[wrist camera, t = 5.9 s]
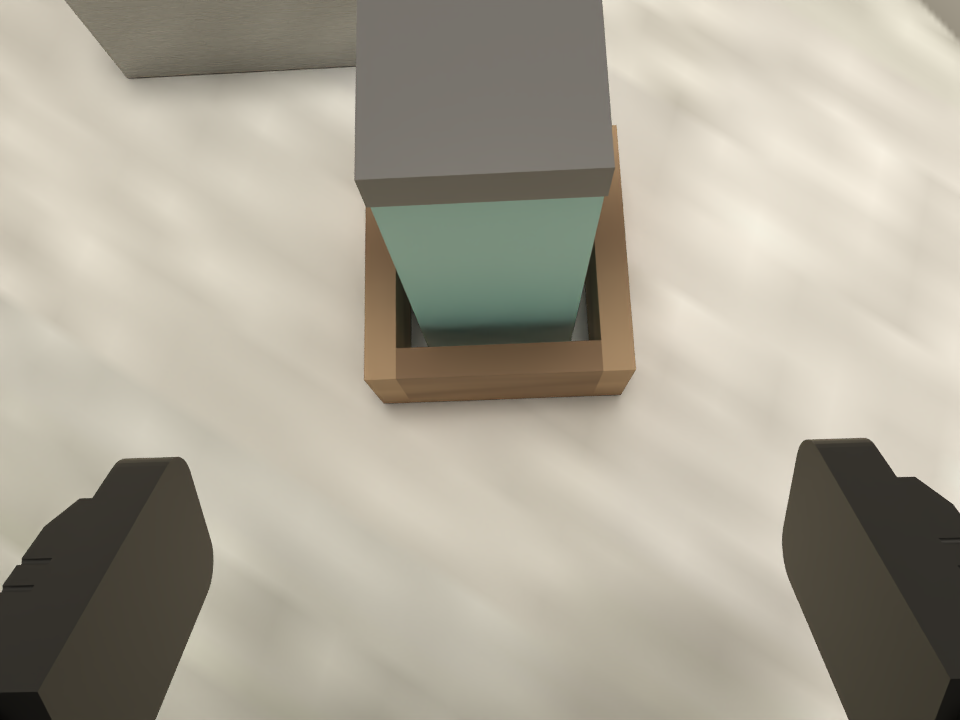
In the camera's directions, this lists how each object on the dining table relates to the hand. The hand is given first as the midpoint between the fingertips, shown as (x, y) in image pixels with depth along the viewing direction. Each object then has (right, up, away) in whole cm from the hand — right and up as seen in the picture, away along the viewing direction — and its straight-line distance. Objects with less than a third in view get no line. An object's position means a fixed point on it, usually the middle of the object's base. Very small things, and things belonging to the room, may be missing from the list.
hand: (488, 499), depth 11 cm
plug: (0, +4, +13) cm, 14 cm away
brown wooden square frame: (0, +4, +13) cm, 14 cm away
